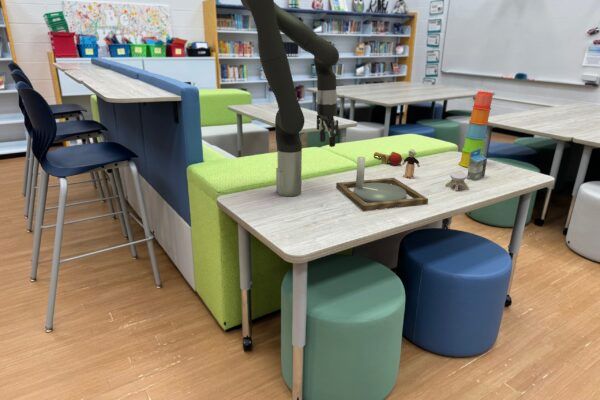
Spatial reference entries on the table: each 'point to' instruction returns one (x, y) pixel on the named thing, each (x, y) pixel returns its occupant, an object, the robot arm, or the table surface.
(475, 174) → the label tape box
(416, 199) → the dial frame
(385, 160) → the kendama
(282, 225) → the table surface
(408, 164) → the grandmother figurine
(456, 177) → the tree stump
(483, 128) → the stacking cups
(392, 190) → the dial
